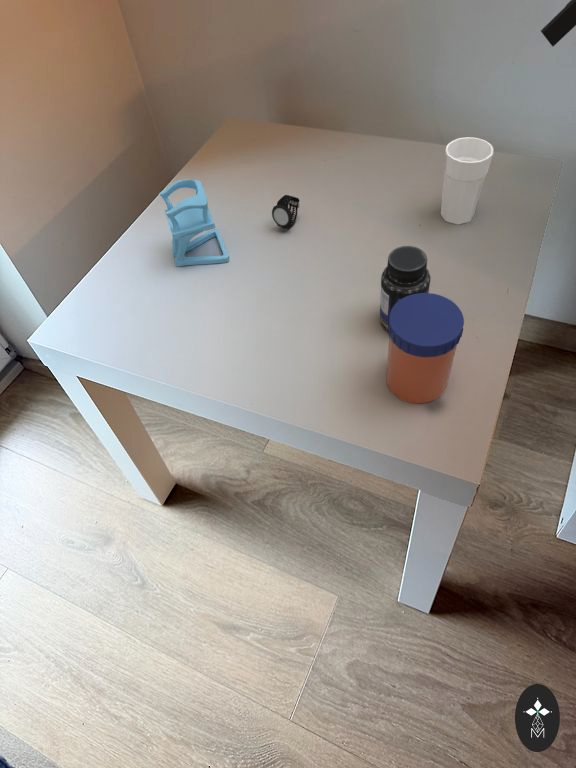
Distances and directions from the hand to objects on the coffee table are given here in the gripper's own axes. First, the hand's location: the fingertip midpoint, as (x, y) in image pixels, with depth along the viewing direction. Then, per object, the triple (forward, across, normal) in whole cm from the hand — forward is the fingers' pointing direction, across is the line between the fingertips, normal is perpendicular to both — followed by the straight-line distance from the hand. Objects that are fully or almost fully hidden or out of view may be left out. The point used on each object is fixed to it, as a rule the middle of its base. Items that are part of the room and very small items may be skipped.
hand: (564, 62), depth 68 cm
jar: (+31, -31, +2) cm, 44 cm away
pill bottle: (+31, -21, +1) cm, 38 cm away
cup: (+23, 0, -8) cm, 24 cm away
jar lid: (+24, -31, +9) cm, 40 cm away
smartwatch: (+41, +3, +11) cm, 43 cm away
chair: (+52, -2, +22) cm, 56 cm away
